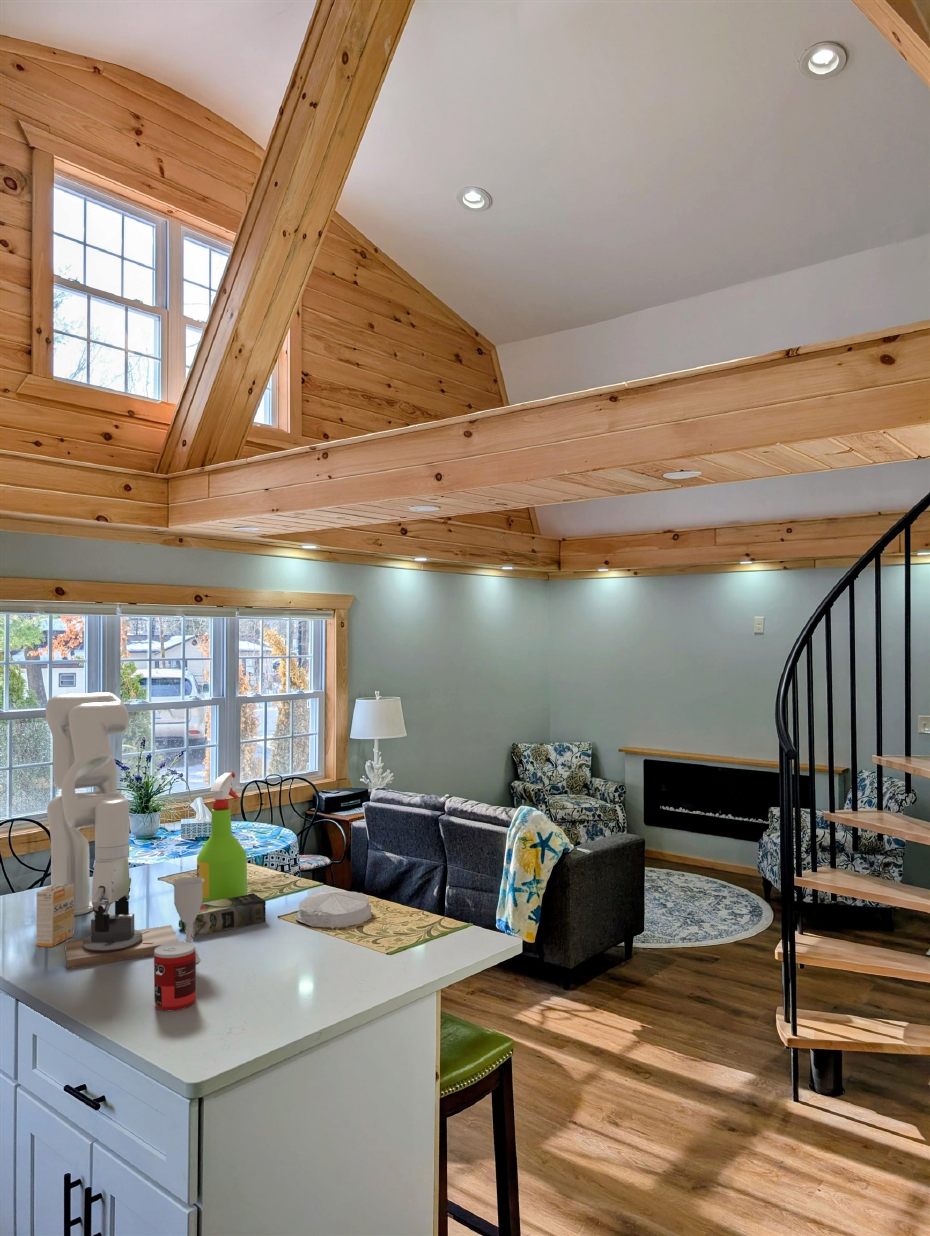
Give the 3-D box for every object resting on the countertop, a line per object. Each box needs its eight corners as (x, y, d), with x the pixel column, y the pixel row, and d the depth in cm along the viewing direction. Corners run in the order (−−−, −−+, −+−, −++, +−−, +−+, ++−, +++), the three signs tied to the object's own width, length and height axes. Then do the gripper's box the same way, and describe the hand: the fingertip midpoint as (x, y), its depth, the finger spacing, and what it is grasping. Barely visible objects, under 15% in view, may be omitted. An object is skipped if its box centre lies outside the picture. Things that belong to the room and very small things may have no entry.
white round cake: (375, 905, 238) (374, 880, 238) (369, 928, 218) (368, 901, 218) (301, 908, 237) (301, 883, 238) (289, 931, 217) (289, 904, 218)
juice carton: (188, 939, 212) (188, 913, 212) (176, 928, 220) (177, 904, 221) (266, 924, 223) (266, 900, 224) (252, 914, 232) (252, 891, 232)
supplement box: (53, 947, 207) (52, 892, 208) (35, 946, 208) (35, 891, 209) (75, 936, 215) (75, 883, 216) (58, 935, 216) (57, 882, 217)
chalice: (211, 957, 199) (210, 878, 199) (193, 968, 192) (192, 886, 193) (184, 954, 201) (184, 876, 202) (165, 964, 195) (165, 884, 195)
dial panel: (65, 949, 206) (65, 940, 206) (171, 933, 216) (171, 924, 216) (67, 969, 193) (67, 959, 193) (179, 950, 204) (179, 941, 204)
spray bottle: (260, 888, 255) (259, 769, 256) (235, 907, 237) (234, 778, 238) (216, 887, 256) (215, 769, 257) (188, 906, 238) (187, 778, 239)
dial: (75, 954, 197) (74, 926, 197) (92, 934, 209) (92, 909, 210) (134, 950, 198) (134, 923, 198) (148, 931, 211) (148, 906, 211)
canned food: (160, 996, 177) (159, 942, 177) (199, 994, 178) (199, 940, 178) (149, 1012, 169) (149, 955, 170) (191, 1010, 170) (190, 953, 170)
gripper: (114, 842, 213) (114, 912, 213) (78, 861, 196) (78, 937, 196) (143, 842, 213) (143, 912, 213) (110, 861, 196) (110, 937, 195)
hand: (112, 924), depth 204 cm, fingers open, 9 cm apart
